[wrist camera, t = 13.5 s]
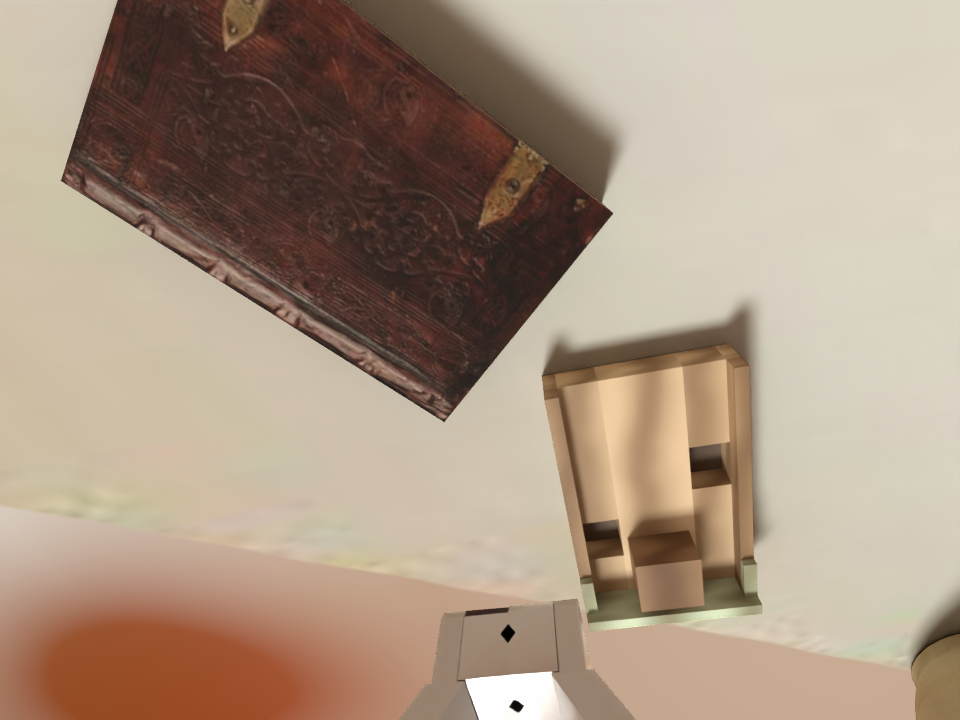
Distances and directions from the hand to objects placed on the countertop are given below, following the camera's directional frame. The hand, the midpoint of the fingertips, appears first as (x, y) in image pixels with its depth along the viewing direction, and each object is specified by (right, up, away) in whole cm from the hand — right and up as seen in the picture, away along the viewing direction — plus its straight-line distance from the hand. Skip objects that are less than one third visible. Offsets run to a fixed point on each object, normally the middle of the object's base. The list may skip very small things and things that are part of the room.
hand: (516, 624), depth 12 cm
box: (+13, -4, +33) cm, 36 cm away
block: (+15, -11, +33) cm, 38 cm away
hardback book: (-10, +18, +25) cm, 32 cm away
